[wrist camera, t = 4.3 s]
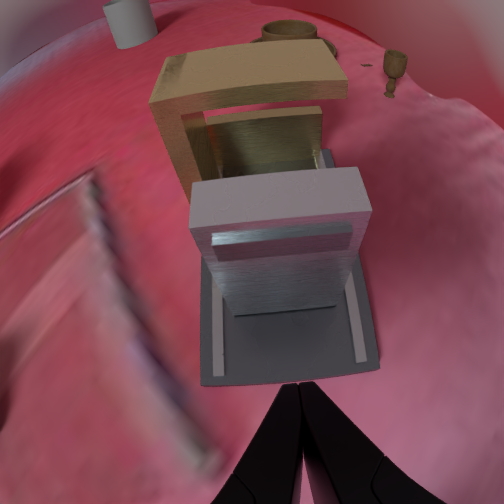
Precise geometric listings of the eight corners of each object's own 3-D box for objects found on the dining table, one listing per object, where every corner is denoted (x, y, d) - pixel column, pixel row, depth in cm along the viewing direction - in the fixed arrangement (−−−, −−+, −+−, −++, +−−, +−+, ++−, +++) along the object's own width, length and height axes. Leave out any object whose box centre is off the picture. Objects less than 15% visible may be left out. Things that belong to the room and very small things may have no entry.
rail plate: (376, 370, 16) (381, 367, 15) (204, 386, 17) (199, 384, 16) (328, 155, 25) (329, 146, 24) (208, 167, 25) (205, 158, 24)
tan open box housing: (334, 226, 21) (357, 80, 11) (205, 239, 22) (148, 103, 12) (317, 157, 25) (320, 28, 15) (208, 168, 25) (171, 45, 15)
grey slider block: (337, 309, 17) (374, 216, 10) (233, 319, 18) (188, 235, 10) (332, 274, 18) (357, 166, 11) (232, 283, 19) (192, 182, 11)
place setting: (331, 37, 39) (331, 5, 34) (409, 104, 29) (418, 60, 24) (219, 54, 38) (212, 19, 33) (257, 129, 28) (251, 76, 23)
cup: (133, 49, 44) (117, 4, 35) (110, 49, 47) (94, 9, 38) (166, 30, 47) (154, -13, 38) (141, 30, 50) (129, -8, 41)
